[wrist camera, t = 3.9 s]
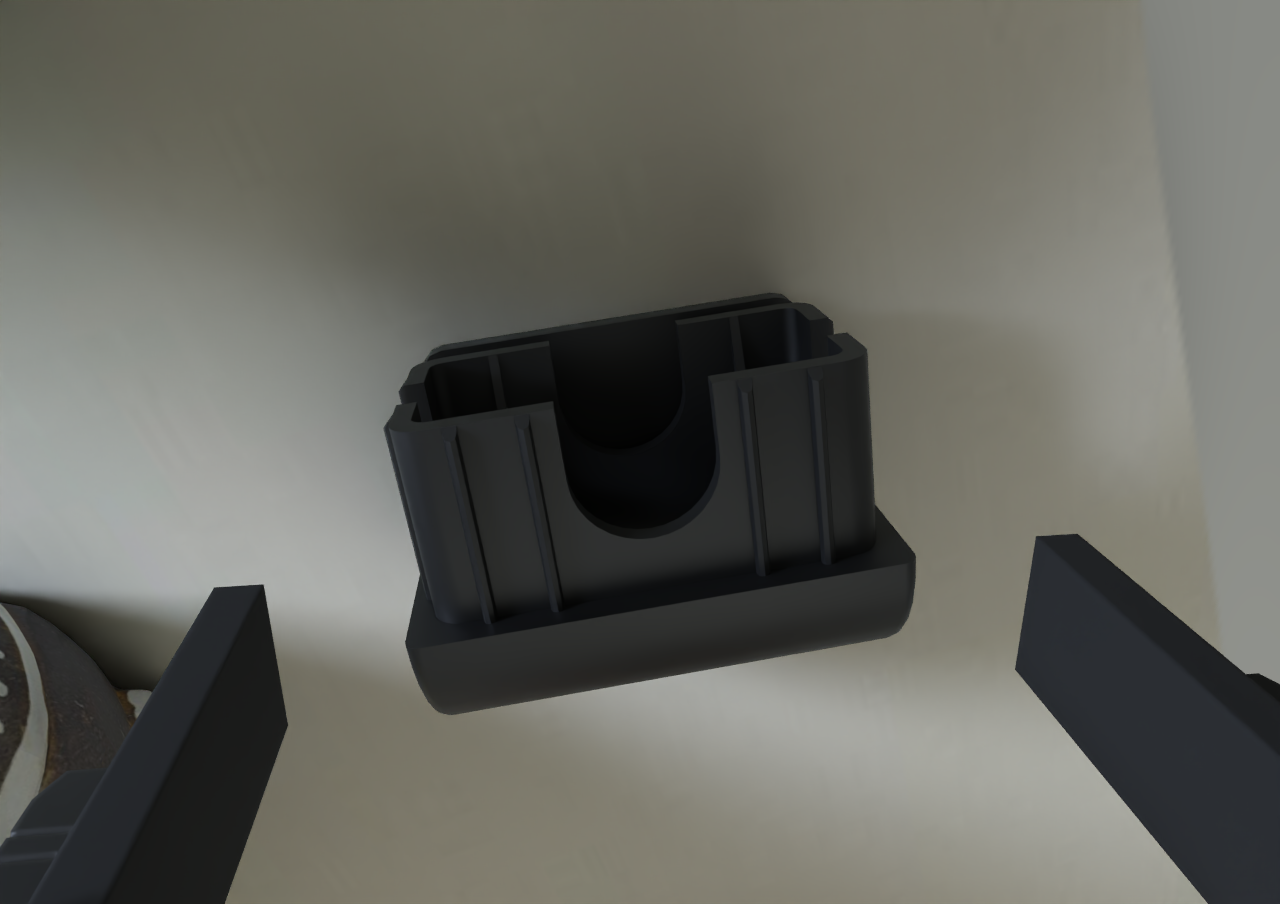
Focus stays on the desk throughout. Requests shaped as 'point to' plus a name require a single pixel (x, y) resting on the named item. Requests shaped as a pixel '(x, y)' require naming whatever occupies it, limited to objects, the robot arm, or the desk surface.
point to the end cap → (641, 502)
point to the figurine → (52, 710)
